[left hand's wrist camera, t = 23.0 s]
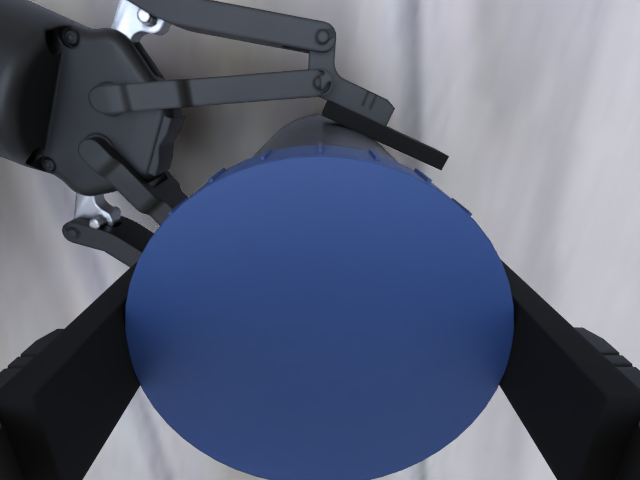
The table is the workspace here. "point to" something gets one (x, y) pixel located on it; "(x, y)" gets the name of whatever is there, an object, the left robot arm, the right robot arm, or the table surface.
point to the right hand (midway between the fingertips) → (393, 239)
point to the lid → (319, 316)
